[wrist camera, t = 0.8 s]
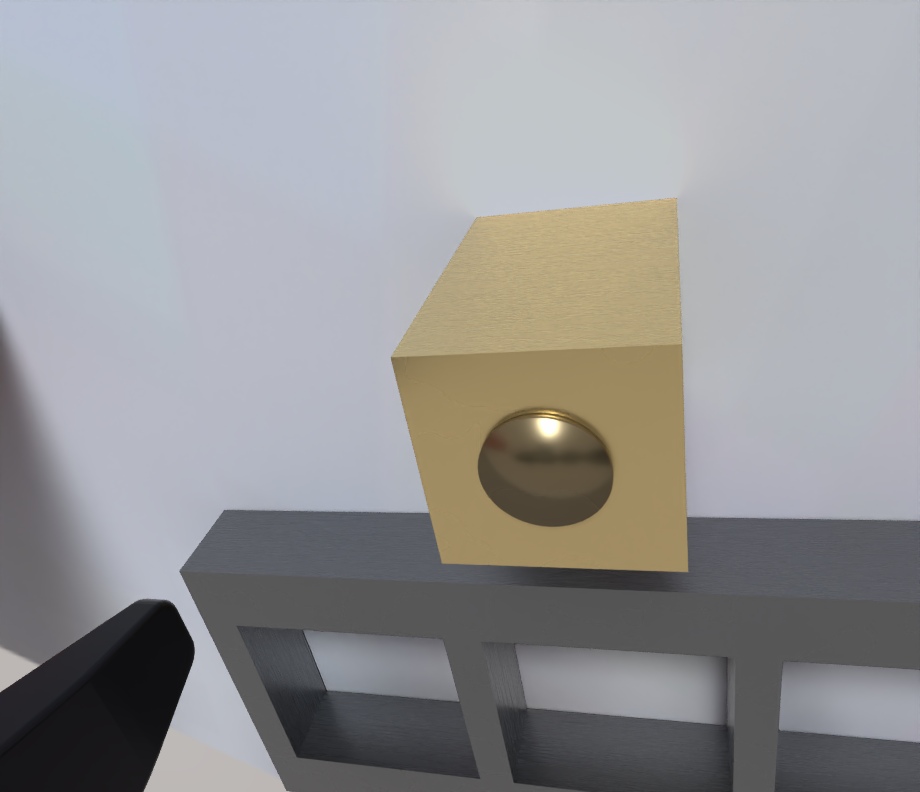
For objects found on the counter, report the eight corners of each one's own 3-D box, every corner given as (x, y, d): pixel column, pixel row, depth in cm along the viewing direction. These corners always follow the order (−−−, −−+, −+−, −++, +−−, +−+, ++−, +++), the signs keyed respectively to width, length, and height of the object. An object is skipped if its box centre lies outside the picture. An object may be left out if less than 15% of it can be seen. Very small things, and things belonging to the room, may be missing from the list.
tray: (1127, 524, 16) (1195, 614, 14) (1029, 797, 21) (1069, 893, 19) (224, 510, 22) (179, 570, 20) (315, 724, 27) (286, 790, 25)
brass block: (676, 197, 15) (682, 349, 10) (681, 376, 17) (688, 578, 12) (476, 217, 16) (387, 362, 11) (503, 381, 18) (439, 569, 13)
